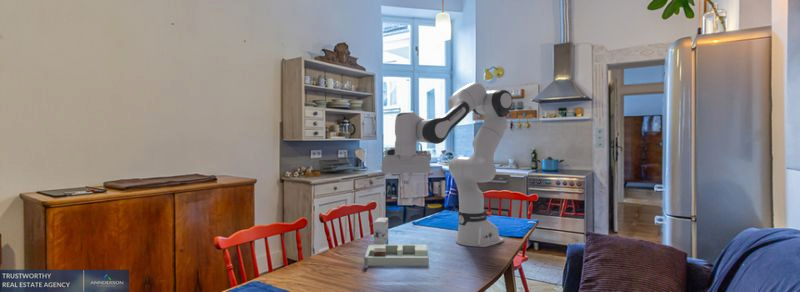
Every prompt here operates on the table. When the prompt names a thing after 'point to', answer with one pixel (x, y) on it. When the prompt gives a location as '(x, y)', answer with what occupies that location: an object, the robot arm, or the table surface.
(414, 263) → the tray
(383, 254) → the block
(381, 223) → the ink box
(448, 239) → the table surface
